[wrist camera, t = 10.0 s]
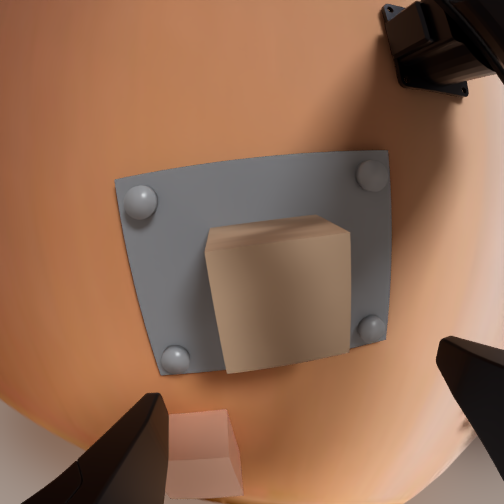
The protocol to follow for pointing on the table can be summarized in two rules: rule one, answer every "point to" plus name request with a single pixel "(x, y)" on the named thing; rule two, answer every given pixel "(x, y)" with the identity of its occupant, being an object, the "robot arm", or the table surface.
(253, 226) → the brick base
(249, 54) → the table surface
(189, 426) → the pink cube
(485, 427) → the robot arm
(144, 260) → the baseplate
